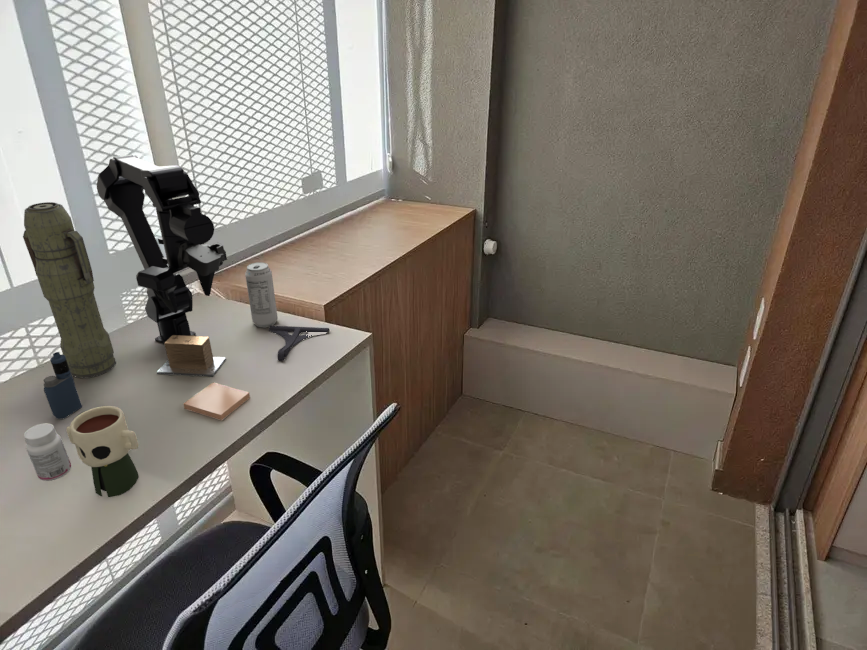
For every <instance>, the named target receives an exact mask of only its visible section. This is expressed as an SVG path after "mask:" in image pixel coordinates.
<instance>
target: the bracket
mask: <svg viewBox="0 0 867 650" xmlns="http://www.w3.org/2000/svg"><path fill="white" fill-rule="evenodd" d="M328 330H329V331H330V327H313V326H292V325H291V326H289V325H288V326H286V325H272V326H269V327H268V332H270V333H272V332H273V334H275V333H276V334H275V335H278V336H279V337H281V338H282V339H284V342H285V345H283V346H282V347H281V348H280V349H278V350H277V354H276V355H277V361H278V360H279V362H280V361H281V362H285V359H286V358H287V356H288V354H289V353H290V351H291V350H292V348H293V347H294V346H296V345H297V344H299V343H301V342H302V340H303V339H305V340H307V339H306V338H308V335H307V336H306V334H307V333H304V334H302V333H301V332H306V331H307V332H328ZM290 333H292V334H290ZM300 333H301V334H300ZM328 333H329V332H328ZM299 334H300V335H299ZM311 336H312V335H311ZM309 337H310V336H309ZM308 339H309V338H308ZM303 341H304V340H303Z"/></svg>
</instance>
